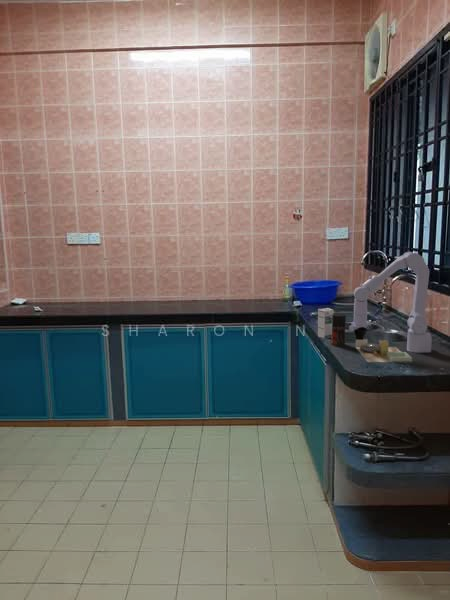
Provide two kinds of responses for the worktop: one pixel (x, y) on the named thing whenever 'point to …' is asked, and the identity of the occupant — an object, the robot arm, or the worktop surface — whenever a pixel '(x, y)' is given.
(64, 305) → the worktop surface
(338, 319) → the deodorant
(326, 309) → the syrup box
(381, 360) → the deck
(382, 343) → the block
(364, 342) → the crank
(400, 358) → the tray
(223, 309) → the worktop surface
